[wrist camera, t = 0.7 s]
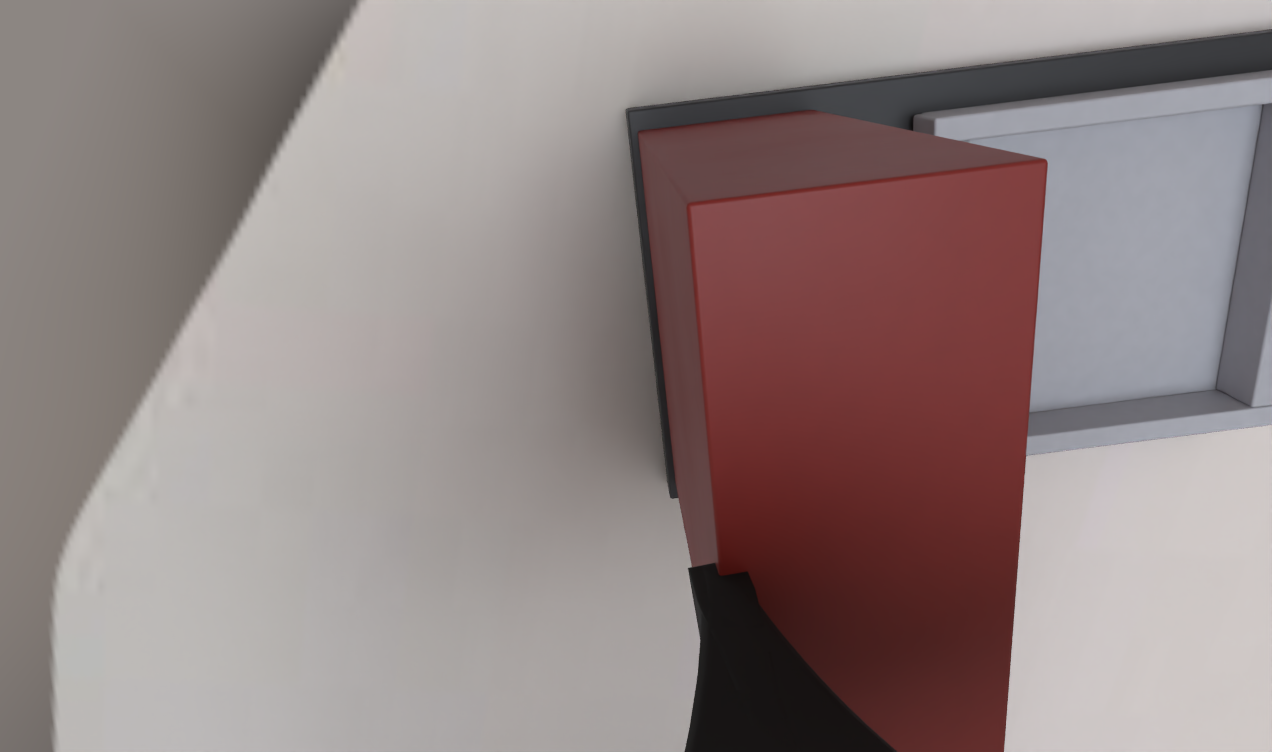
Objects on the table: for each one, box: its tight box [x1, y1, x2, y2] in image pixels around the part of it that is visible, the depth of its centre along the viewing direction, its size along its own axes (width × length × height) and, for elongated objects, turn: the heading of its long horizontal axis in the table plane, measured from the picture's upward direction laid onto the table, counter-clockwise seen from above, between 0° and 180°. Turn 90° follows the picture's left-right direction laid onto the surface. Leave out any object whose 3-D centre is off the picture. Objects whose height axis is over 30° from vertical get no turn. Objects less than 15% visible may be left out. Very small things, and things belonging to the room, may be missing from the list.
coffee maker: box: [626, 30, 1272, 752], centre depth 17 cm, size 11×17×12 cm, turn 96°
